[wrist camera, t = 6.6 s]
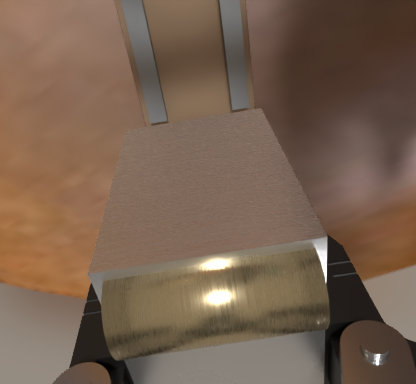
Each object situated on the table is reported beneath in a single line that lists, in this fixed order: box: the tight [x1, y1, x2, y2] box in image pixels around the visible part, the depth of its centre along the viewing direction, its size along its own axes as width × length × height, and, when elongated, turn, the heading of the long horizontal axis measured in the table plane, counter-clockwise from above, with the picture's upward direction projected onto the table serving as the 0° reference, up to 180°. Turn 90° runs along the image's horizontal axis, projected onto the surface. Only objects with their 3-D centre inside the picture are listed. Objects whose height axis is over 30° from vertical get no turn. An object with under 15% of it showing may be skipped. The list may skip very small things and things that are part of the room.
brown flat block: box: [115, 0, 255, 127], centre depth 27 cm, size 16×8×4 cm, turn 8°
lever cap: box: [88, 108, 330, 384], centre depth 11 cm, size 7×4×7 cm, turn 8°
